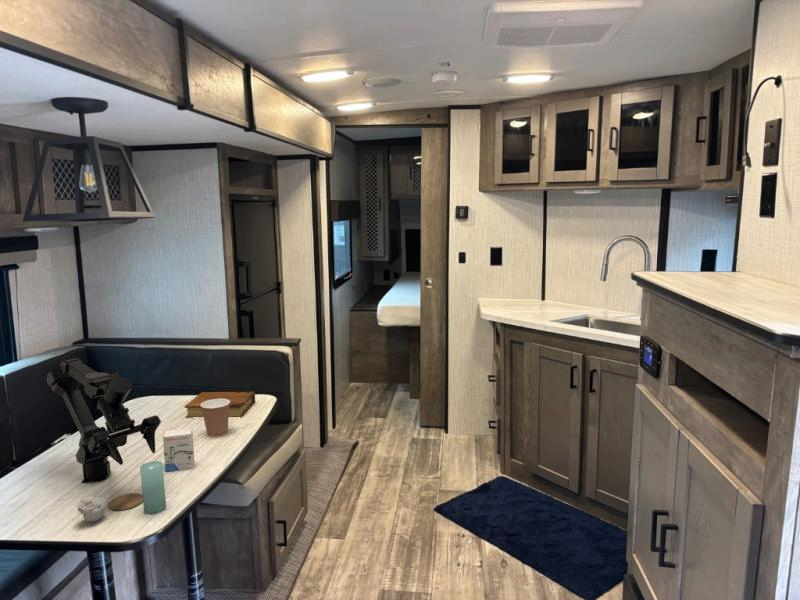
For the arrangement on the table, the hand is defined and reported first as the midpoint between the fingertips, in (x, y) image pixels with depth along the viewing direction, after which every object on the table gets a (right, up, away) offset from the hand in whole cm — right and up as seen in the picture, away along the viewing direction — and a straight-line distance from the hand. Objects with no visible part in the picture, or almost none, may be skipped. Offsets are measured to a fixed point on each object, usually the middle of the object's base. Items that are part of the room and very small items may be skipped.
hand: (138, 458), depth 154 cm
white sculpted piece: (-8, -15, -7) cm, 18 cm away
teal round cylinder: (+5, -13, -2) cm, 15 cm away
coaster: (-4, -13, +2) cm, 14 cm away
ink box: (+2, -10, +24) cm, 26 cm away
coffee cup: (+5, -6, +52) cm, 52 cm away
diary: (-2, -3, +79) cm, 79 cm away
